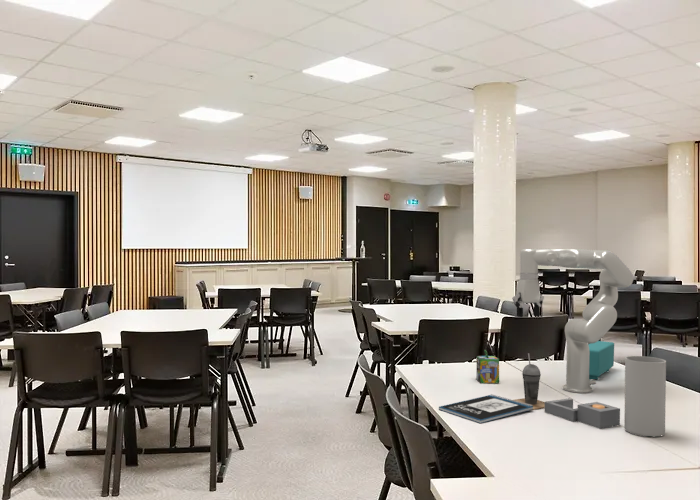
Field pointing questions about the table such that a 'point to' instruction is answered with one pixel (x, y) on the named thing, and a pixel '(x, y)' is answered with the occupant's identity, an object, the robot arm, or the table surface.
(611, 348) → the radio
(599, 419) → the grey hollow tray
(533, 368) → the beverage cup
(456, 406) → the sketchbook
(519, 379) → the table surface
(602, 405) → the brown egg
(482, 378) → the chalk box
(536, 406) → the pad
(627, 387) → the cylinder vase
